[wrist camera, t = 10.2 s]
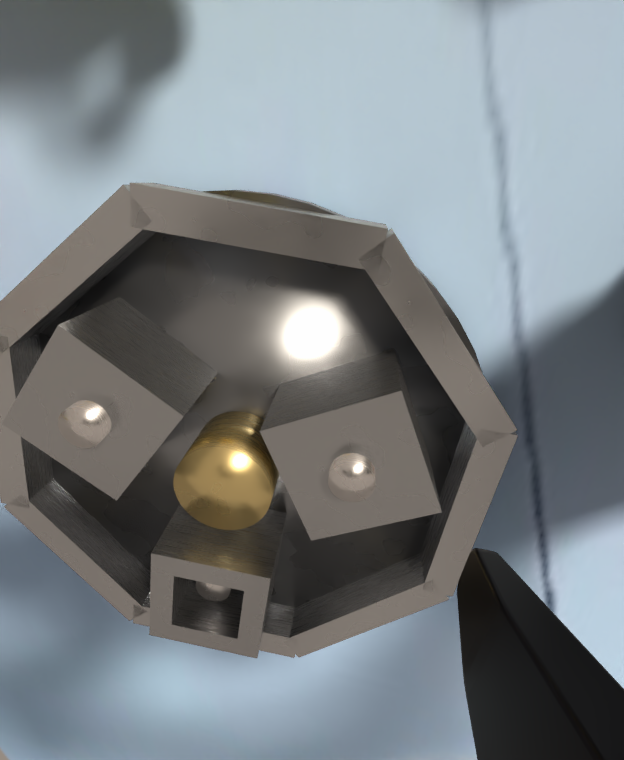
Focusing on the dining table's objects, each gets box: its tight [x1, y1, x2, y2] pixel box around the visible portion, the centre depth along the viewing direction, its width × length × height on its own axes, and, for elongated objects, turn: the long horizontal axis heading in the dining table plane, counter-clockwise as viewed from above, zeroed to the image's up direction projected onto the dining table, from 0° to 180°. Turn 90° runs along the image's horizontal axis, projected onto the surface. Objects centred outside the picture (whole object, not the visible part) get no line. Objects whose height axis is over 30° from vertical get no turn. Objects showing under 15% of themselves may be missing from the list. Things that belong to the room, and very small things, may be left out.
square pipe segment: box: [149, 504, 287, 658], centre depth 21 cm, size 5×5×4 cm
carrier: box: [0, 183, 518, 658], centre depth 19 cm, size 22×22×6 cm
